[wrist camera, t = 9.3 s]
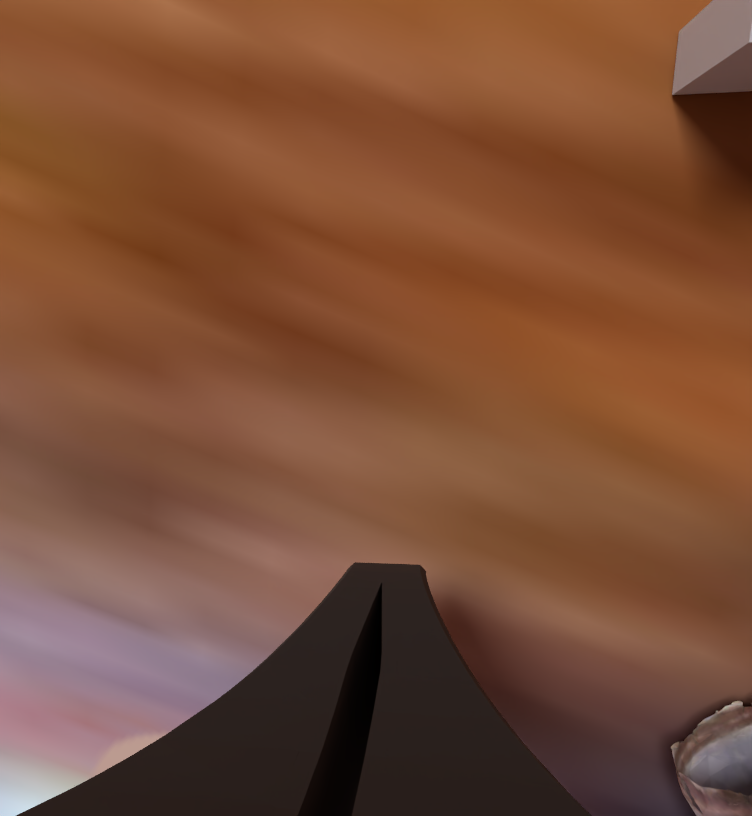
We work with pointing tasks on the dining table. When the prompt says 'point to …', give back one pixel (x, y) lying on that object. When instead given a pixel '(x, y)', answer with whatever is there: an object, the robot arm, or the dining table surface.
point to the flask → (718, 763)
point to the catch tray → (716, 50)
